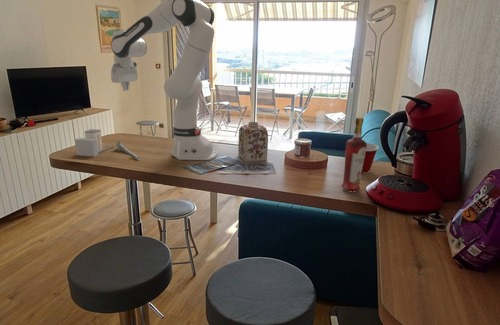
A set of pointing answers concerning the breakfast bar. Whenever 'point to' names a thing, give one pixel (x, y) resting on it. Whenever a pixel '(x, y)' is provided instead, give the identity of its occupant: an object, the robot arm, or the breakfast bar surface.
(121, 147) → the caliper
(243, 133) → the decorative jar
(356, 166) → the liquor
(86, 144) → the grey holder
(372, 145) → the plastic cup
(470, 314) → the breakfast bar surface
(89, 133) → the cream rectangular box
